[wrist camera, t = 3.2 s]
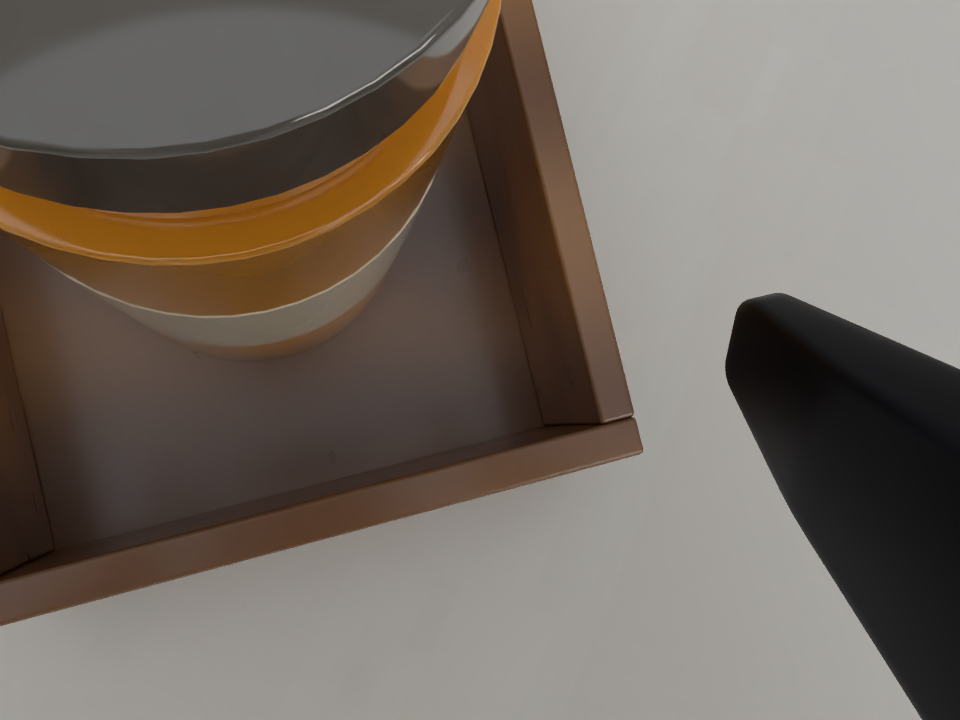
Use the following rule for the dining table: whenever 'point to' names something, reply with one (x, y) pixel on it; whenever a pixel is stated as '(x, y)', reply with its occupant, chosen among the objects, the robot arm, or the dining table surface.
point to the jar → (230, 153)
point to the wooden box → (320, 381)
